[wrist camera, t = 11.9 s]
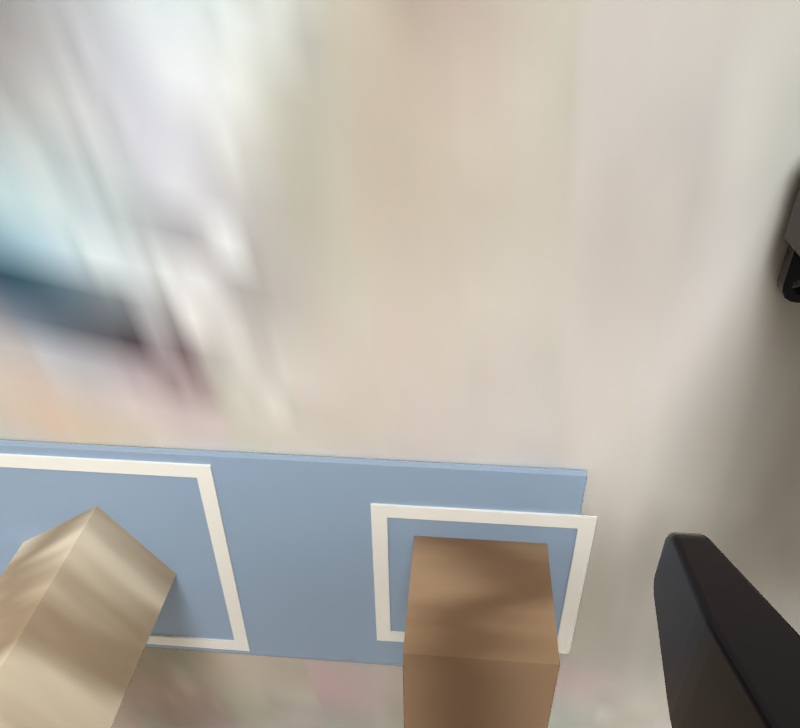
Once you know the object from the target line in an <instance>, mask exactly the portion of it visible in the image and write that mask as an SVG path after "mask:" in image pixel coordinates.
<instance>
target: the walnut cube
mask: <svg viewBox="0 0 800 728" xmlns="http://www.w3.org/2000/svg"><path fill="white" fill-rule="evenodd" d="M559 666H560V662H559V652H558V642H557V633H556V623H555V613H554V604H553V594H552V584H551V575H550V565H549V555H548V546H547V544H546V543H529V542H513V541H496V540H479V539H463V538H446V537H429V536H414V541H413V552H412V562H411V573H410V584H409V594H408V605H407V615H406V626H405V637H404V647H403V696H404V728H547V727H548V722H549V717H550V712H551V707H552V702H553V697H554V692H555V687H556V682H557V677H558V671H559Z"/></svg>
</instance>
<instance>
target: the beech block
mask: <svg viewBox="0 0 800 728" xmlns="http://www.w3.org/2000/svg"><path fill="white" fill-rule="evenodd" d="M175 575H176V573H174V572H173V571H172V570H171V569H170V568H169V567H168V566H166V565H165V564H164V563H163V562H162V561H161V560H159V559H158V558H157V557H156V556H155V555H154V554H152V553H151V552H150V551H149V550H148V549H147V548H146V547H144V546H143V545H142V544H141V543H140V542H139V541H137V540H136V539H135V538H134V537H133V536H132V535H131V534H129V533H128V532H127V531H126V530H125V529H124V528H122V527H121V526H120V525H119V524H118V523H117V522H115V521H114V520H113V519H112V518H111V517H110V516H109V515H107V514H106V513H105V512H104V511H103V510H102V509H100V508H99V507H98V506H95V507H93V508H91V509H89V510H87V511H85V512H83V513H81V514H79V515H77V516H75V517H73V518H71V519H69V520H67V521H65V522H63V523H61V524H59V525H57V526H55V527H53V528H51V529H49V530H47V531H45V532H43V533H41V534H39V535H37V536H35V537H33V538H31V539H29V540H27V541H25V542H23V543H22V545H21V546H20V548H19V549H18V551H17V552H16V554H15V555H14V557H13V558H12V560H11V561H10V563H9V564H8V566H7V567H6V569H5V570H4V572H3V573H2V575H1V576H0V728H111V726H112V724H113V721H114V719H115V717H116V714H117V712H118V710H119V707H120V705H121V702H122V700H123V698H124V695H125V693H126V691H127V688H128V686H129V684H130V681H131V679H132V677H133V674H134V672H135V670H136V667H137V665H138V662H139V660H140V658H141V655H142V653H143V651H144V648H145V646H146V644H147V641H148V639H149V637H150V634H151V632H152V630H153V627H154V625H155V622H156V620H157V618H158V615H159V613H160V611H161V608H162V606H163V604H164V601H165V599H166V597H167V594H168V592H169V590H170V587H171V585H172V582H173V580H174V578H175Z"/></svg>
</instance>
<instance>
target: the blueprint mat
mask: <svg viewBox="0 0 800 728" xmlns="http://www.w3.org/2000/svg"><path fill="white" fill-rule="evenodd" d="M586 480H587V472H586V470H571V469H552V468H532V467H513V466H494V465H475V464H455V463H436V462H417V461H398V460H379V459H359V458H340V457H321V456H302V455H282V454H263V453H244V452H225V451H205V450H186V449H167V448H148V447H129V446H109V445H90V444H71V443H52V442H32V441H13V440H0V576H1V575H2V573H3V572H4V570H5V569H6V567H7V566H8V564H9V563H10V561H11V560H12V558H13V557H14V555H15V554H16V552H17V551H18V549H19V548H20V546H21V545H22V543H23V542H25V541H27V540H29V539H31V538H33V537H35V536H37V535H39V534H41V533H43V532H45V531H47V530H49V529H51V528H53V527H55V526H57V525H59V524H61V523H63V522H65V521H67V520H69V519H71V518H73V517H75V516H77V515H79V514H81V513H83V512H85V511H87V510H89V509H91V508H93V507H95V506H98V507H99V508H100V509H102V510H103V511H104V512H105V513H106V514H107V515H109V516H110V517H111V518H112V519H113V520H114V521H115V522H117V523H118V524H119V525H120V526H121V527H122V528H124V529H125V530H126V531H127V532H128V533H129V534H131V535H132V536H133V537H134V538H135V539H136V540H137V541H139V542H140V543H141V544H142V545H143V546H144V547H146V548H147V549H148V550H149V551H150V552H151V553H152V554H154V555H155V556H156V557H157V558H158V559H159V560H161V561H162V562H163V563H164V564H165V565H166V566H168V567H169V568H170V569H171V570H172V571H173V572H174V573H176V575H175V578H174V580H173V582H172V585H171V587H170V590H169V592H168V594H167V597H166V599H165V601H164V604H163V606H162V608H161V611H160V613H159V615H158V618H157V620H156V622H155V625H154V627H153V630H152V632H151V634H150V637H149V639H148V641H147V644H146V646H145V647H155V648H169V649H182V650H195V651H209V652H222V653H236V654H249V655H263V656H276V657H290V658H303V659H317V660H330V661H344V662H357V663H371V664H384V665H398V666H403V647H404V637H405V626H406V615H407V605H408V594H409V584H410V573H411V562H412V552H413V541H414V536H429V537H446V538H463V539H479V540H496V541H513V542H529V543H546V544H547V546H548V555H549V565H550V575H551V584H552V594H553V604H554V613H555V623H556V633H557V642H558V652H559V653H561V654H569V653H570V648H571V643H572V639H573V634H574V629H575V624H576V619H577V614H578V609H579V605H580V600H581V595H582V590H583V585H584V580H585V575H586V571H587V566H588V561H589V556H590V551H591V546H592V541H593V537H594V532H595V527H596V522H597V516H589V515H580V512H581V507H582V502H583V496H584V491H585V486H586Z"/></svg>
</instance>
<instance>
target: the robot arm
mask: <svg viewBox="0 0 800 728" xmlns="http://www.w3.org/2000/svg"><path fill="white" fill-rule="evenodd" d="M785 239H786V240H787V241H788V243H789V247H788V250H787V253H786V256H785V259H784V262H783V265H782V268H781V271H780V274H779V278H778V284H777V286H778V288H779V290H780V292H781V293H782V295H783V296H784V297H785V298H786V299H787V300H789V301H791V302H796V303H800V287H797V288H792V285H793V284H794V282H796V281H797V280H799V279H800V188H799V191H798V194H797V197H796V201H795V204H794V207H793V210H792V213H791V216H790V220H789V223H788V226H787V229H786V232H785ZM654 599H655V607H656V614H657V622H658V630H659V638H660V646H661V653H662V661H663V669H664V677H665V685H666V693H667V700H668V707H669V714H670V720H671V725H672V728H800V636H799V634H798V633H797V632H796V631H795V630H794V629H793V628H792V627H791V626H790V625H789V624H788V623H787V622H786V621H785V619H784V618H783V617H782V616H781V615H780V614H779V613H778V612H777V611H776V610H775V609H774V608H773V607H772V606H771V605H770V603H769V602H768V601H767V600H766V599H765V598H764V597H763V596H762V595H761V594H760V593H759V592H758V591H757V590H756V588H755V587H754V586H753V585H752V584H751V583H750V582H749V581H748V580H747V579H746V578H745V577H744V576H743V575H742V573H741V572H740V571H739V570H738V569H737V568H736V567H735V566H734V565H733V564H732V563H731V562H730V561H729V560H728V559H727V557H726V556H725V555H724V554H723V553H722V552H721V551H720V550H719V549H718V548H717V547H716V546H715V545H714V544H713V542H712V541H711V540H710V539H709V538H707V537H706V536H704V535H702V534H694V533H676V532H674V533H671V534H669V535H668V536H667V538H666V540H665V543H664V546H663V550H662V553H661V557H660V560H659V564H658V567H657V570H656V574H655V579H654Z"/></svg>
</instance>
